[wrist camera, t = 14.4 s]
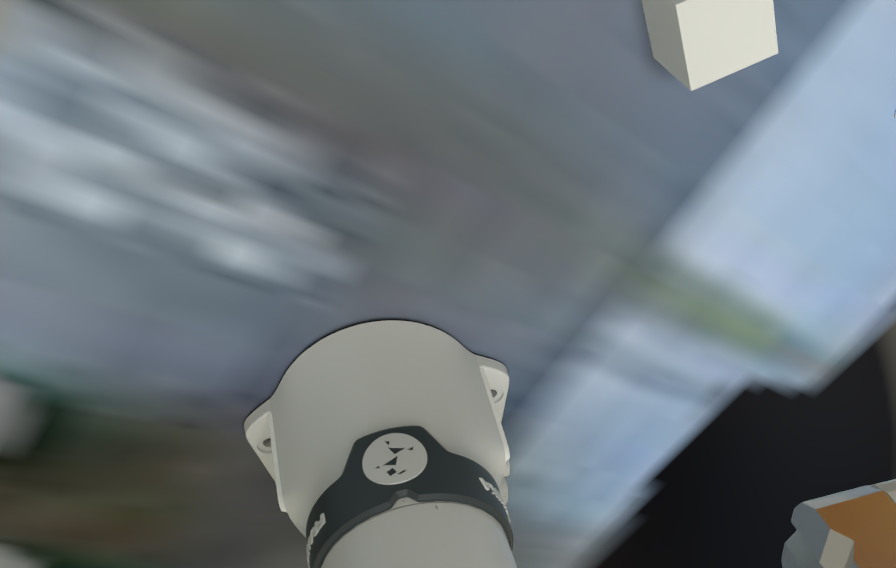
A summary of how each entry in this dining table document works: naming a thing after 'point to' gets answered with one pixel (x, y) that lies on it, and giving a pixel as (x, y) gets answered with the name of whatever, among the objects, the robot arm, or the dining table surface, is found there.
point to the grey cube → (709, 36)
